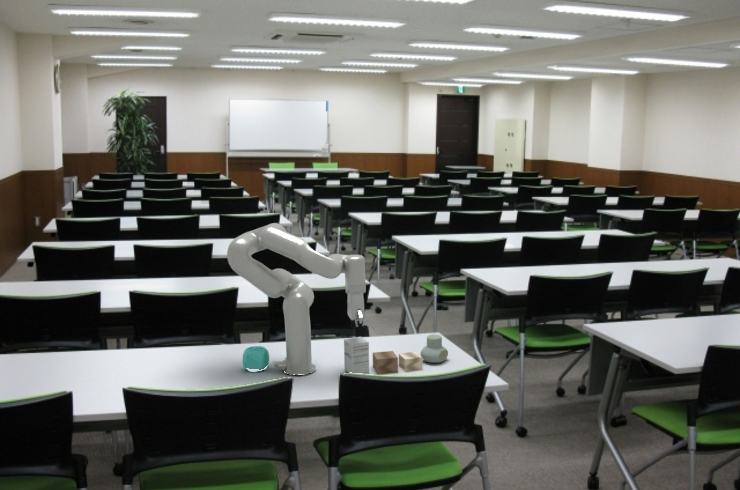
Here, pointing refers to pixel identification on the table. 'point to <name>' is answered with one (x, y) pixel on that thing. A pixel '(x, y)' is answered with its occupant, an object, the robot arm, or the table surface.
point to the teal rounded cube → (255, 357)
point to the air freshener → (434, 350)
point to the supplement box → (356, 355)
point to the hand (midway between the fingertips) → (357, 332)
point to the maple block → (410, 361)
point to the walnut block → (385, 362)
